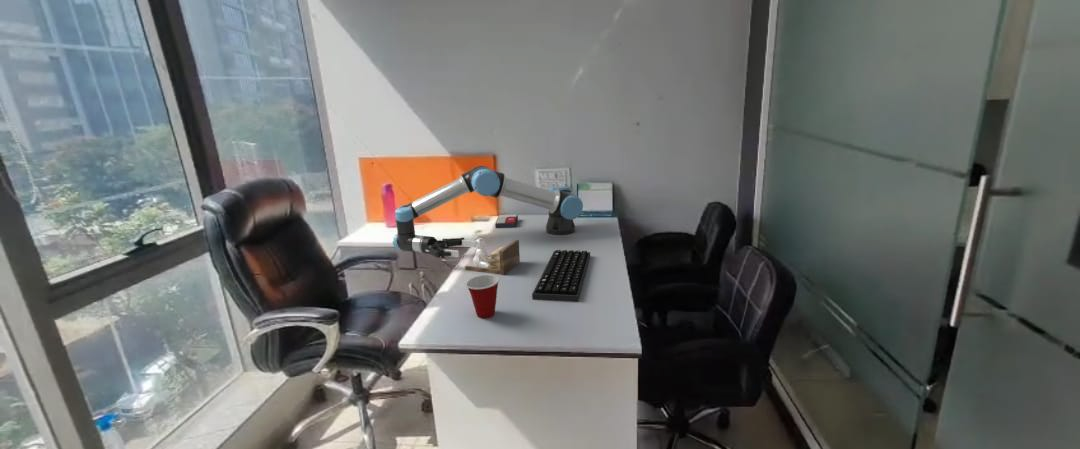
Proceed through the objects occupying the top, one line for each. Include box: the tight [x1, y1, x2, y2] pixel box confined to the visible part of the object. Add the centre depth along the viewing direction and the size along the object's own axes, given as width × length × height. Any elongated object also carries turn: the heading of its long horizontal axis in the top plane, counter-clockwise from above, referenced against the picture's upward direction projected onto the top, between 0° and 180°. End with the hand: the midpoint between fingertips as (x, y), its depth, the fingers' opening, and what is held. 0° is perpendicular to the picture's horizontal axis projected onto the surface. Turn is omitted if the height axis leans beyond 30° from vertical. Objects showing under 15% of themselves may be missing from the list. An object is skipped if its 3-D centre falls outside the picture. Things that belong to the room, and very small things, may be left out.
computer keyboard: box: [531, 249, 591, 303], centre depth 177 cm, size 45×16×4 cm, turn 169°
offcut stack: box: [490, 246, 505, 270], centre depth 187 cm, size 5×10×7 cm, turn 159°
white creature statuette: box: [472, 237, 491, 269], centre depth 190 cm, size 10×9×12 cm
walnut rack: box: [464, 239, 521, 276], centre depth 189 cm, size 18×15×10 cm
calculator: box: [494, 214, 519, 229], centre depth 252 cm, size 11×4×15 cm
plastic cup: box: [465, 274, 500, 319], centre depth 147 cm, size 11×11×12 cm
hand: (467, 249), depth 192 cm, fingers open, 13 cm apart
